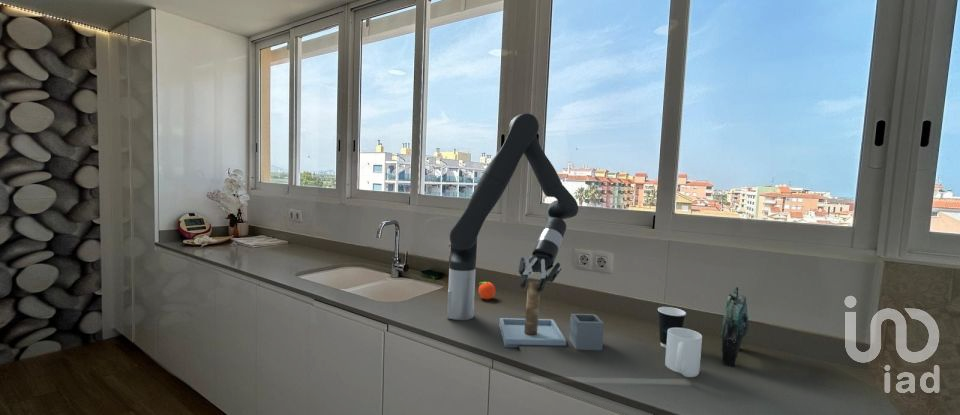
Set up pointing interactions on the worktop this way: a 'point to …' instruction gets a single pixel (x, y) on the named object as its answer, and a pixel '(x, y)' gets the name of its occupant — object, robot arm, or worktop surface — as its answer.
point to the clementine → (486, 290)
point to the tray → (515, 335)
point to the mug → (683, 351)
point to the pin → (532, 308)
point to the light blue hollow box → (586, 332)
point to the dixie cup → (669, 321)
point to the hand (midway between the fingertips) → (530, 288)
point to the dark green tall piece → (734, 327)
